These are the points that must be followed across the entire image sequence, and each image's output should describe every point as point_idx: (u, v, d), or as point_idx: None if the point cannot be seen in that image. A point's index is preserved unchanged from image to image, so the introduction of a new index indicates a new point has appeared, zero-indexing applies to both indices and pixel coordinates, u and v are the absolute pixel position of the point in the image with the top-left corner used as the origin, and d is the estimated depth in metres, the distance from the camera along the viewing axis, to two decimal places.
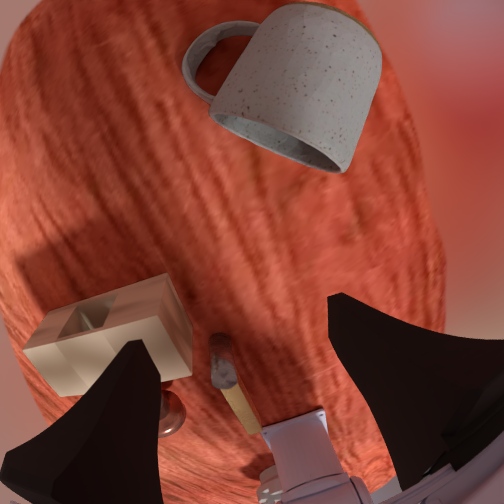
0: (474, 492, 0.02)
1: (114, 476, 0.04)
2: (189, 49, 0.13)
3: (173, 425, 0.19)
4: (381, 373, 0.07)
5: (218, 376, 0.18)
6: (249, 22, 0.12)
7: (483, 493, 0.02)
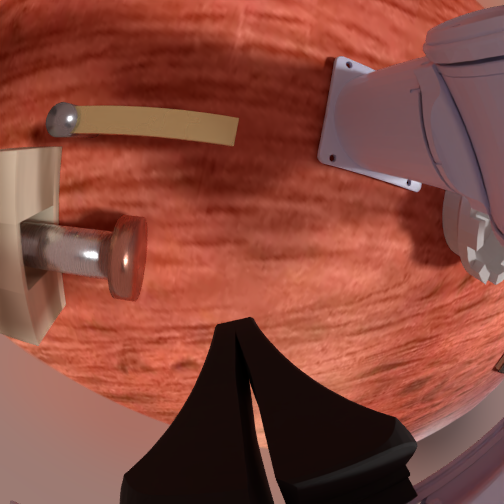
0: (474, 492, 0.02)
1: (255, 468, 0.05)
2: None
3: (118, 242, 0.13)
4: None
5: (49, 124, 0.10)
6: None
7: (483, 493, 0.02)
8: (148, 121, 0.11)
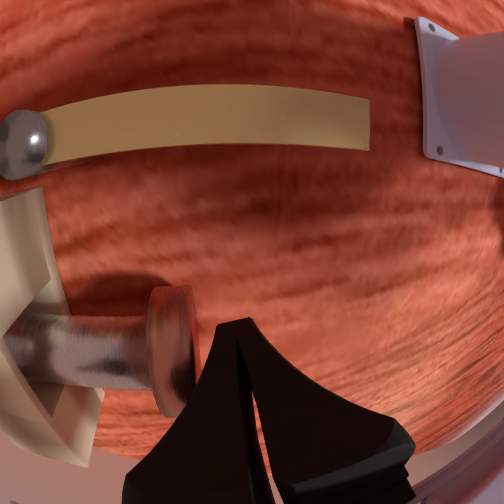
0: (474, 492, 0.02)
1: (257, 467, 0.05)
2: None
3: (161, 353, 0.07)
4: None
5: None
6: None
7: (482, 493, 0.02)
8: (200, 114, 0.05)
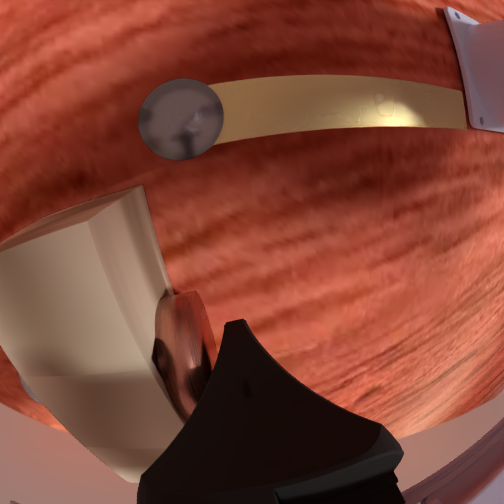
0: (474, 492, 0.02)
1: None
2: None
3: (172, 362, 0.07)
4: None
5: (152, 135, 0.05)
6: None
7: (483, 493, 0.02)
8: (373, 101, 0.06)
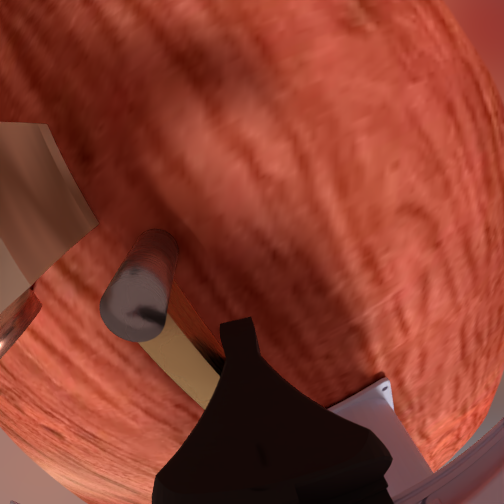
0: (474, 492, 0.02)
1: None
2: None
3: None
4: None
5: (111, 298, 0.06)
6: None
7: (483, 493, 0.02)
8: None
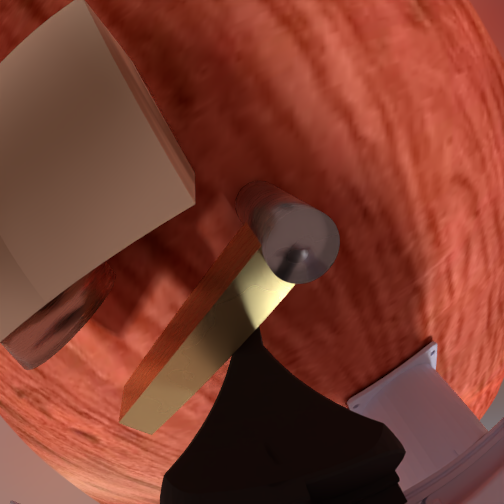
0: (474, 492, 0.02)
1: None
2: None
3: (56, 310, 0.05)
4: None
5: (315, 220, 0.06)
6: None
7: (482, 493, 0.02)
8: (188, 371, 0.07)
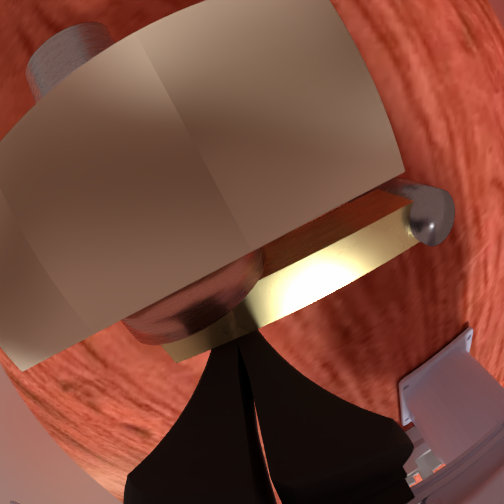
0: (474, 492, 0.02)
1: (259, 467, 0.05)
2: None
3: (233, 266, 0.06)
4: None
5: (448, 204, 0.07)
6: None
7: (482, 493, 0.02)
8: (297, 286, 0.07)
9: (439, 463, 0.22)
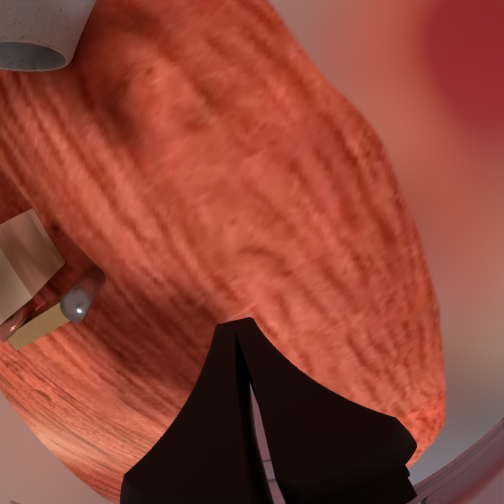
0: (474, 492, 0.02)
1: (256, 468, 0.05)
2: None
3: (11, 320, 0.13)
4: None
5: (76, 303, 0.14)
6: None
7: (482, 493, 0.02)
8: (34, 329, 0.14)
9: None
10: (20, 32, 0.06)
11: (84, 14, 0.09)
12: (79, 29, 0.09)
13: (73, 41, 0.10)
